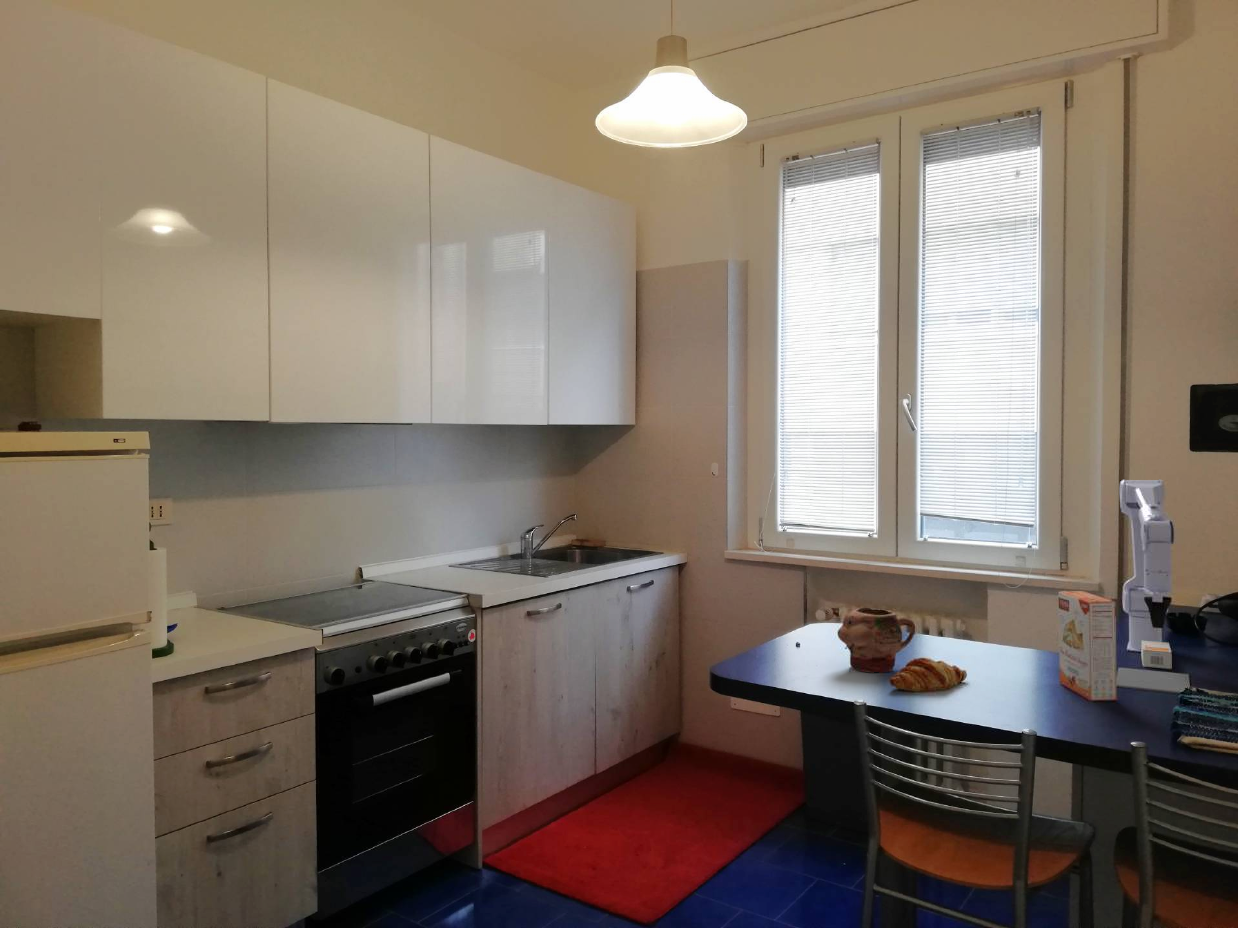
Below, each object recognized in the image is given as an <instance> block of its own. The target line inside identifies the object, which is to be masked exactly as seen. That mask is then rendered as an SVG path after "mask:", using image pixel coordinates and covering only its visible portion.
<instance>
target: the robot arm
mask: <svg viewBox="0 0 1238 928" xmlns="http://www.w3.org/2000/svg"><path fill="white" fill-rule="evenodd" d="M1165 495H1166V488H1165V483H1164V481H1163V479H1158V480H1157V479H1156V480H1155V479H1153V480H1152V479H1148V480H1147V479H1145V480H1144V479H1143V480H1142V479H1138V480H1135V479H1134V480H1133V479H1122V480H1121V481H1120V482H1119V502H1120V503H1119V505H1120V506H1119V507H1120V510H1121V513H1123V514H1125V515H1127V516H1128V518H1129V522H1130V525H1131V543H1132V563H1133V577H1132V578H1130V579H1128V580H1126V581H1125V582H1124V584H1123V586H1122V598H1121V599H1122V609H1123V611H1124V612H1125V613H1126V614H1128V633H1129V634H1128V642H1127V647H1126V650H1127V651H1128V650H1129V651H1130V652H1141V643H1142V640H1144V641H1156V642H1163V641H1162V629H1163V628H1164V627H1165V622H1166V616H1167V613H1168V612H1169V607H1170V606H1171V603H1172V599H1173V598H1172V597H1170V596H1169V595H1172V594H1173V592H1174V591H1173V587H1172V586H1173V580H1172V578H1173V575H1172V573H1173V571H1172V570H1173V568H1172V567H1173V566H1172V559H1173V558H1172V557H1173V556H1172V553H1173V551H1172V550H1173V549H1172V547H1173V545H1174V543H1175V537H1176V528H1175V524H1174V521H1173V519H1168V517H1167V515H1166V511H1165V509H1164V508H1163V505H1164V501H1165V497H1166V496H1165ZM1129 651H1128V652H1129Z"/></svg>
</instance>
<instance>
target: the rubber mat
mask: <svg viewBox="0 0 1238 928" xmlns="http://www.w3.org/2000/svg"><path fill="white" fill-rule="evenodd" d="M1190 685H1191V684H1190V675H1189V673H1181V672H1180V673H1178V672H1169V671H1159V670H1147V669H1138V668H1129V667H1128V668H1127V667H1118V669H1117V672H1116V688H1124V689H1133V690H1143V691H1151V692H1160V693H1168V694H1169V693H1171V694H1179V695H1181V694H1180V693H1181V692H1183V691H1184V690H1185V688H1187V687H1190V688H1191V686H1190Z"/></svg>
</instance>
